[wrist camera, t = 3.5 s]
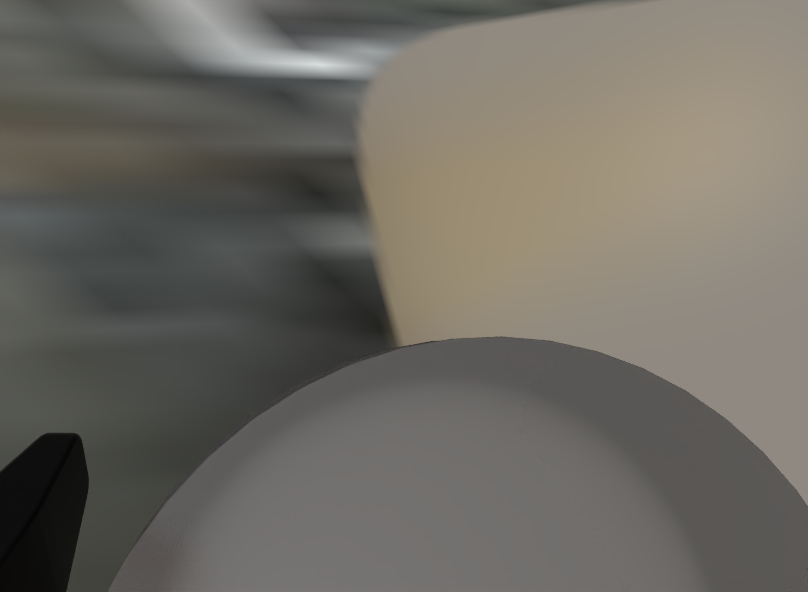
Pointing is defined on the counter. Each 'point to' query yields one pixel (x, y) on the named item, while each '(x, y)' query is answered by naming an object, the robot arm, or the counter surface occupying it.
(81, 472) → the robot arm
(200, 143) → the counter surface
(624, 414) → the piston
